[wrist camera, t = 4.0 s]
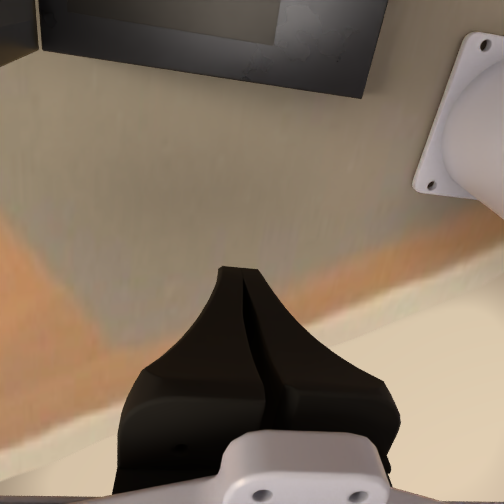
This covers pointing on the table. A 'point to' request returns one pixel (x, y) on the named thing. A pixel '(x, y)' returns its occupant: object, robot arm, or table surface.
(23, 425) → the table surface
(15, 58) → the screen
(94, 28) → the laptop
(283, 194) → the table surface
